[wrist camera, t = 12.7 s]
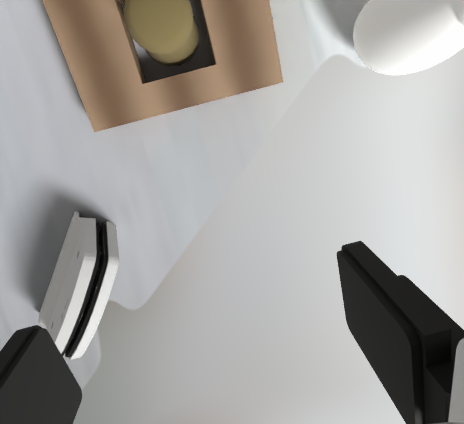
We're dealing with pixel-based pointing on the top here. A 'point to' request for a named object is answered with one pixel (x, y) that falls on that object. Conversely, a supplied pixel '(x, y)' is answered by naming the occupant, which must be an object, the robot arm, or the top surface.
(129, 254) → the top surface
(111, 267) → the grey piece
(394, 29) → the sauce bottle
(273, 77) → the tan flat frame
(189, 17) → the cork
